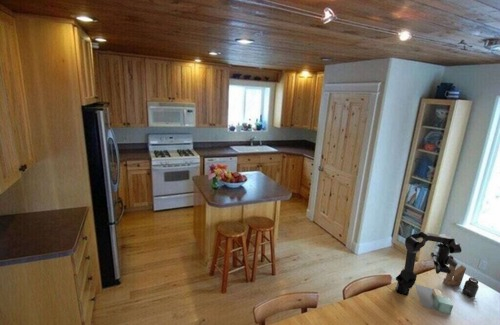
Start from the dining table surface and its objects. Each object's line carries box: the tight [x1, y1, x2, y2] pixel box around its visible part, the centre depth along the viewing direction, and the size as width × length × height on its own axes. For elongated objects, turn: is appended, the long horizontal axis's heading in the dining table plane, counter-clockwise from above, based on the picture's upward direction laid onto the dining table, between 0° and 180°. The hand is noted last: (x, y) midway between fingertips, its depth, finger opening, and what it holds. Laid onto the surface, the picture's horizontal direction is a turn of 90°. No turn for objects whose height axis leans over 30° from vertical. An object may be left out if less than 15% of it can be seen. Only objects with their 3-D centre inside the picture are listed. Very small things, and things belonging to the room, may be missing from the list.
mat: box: [413, 283, 437, 311], centre depth 169 cm, size 15×21×1 cm
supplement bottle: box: [461, 276, 480, 299], centre depth 173 cm, size 7×7×12 cm
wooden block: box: [442, 264, 467, 286], centre depth 182 cm, size 4×11×18 cm, turn 97°
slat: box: [432, 288, 444, 298], centre depth 165 cm, size 4×14×4 cm, turn 162°
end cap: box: [434, 295, 454, 315], centre depth 160 cm, size 7×6×6 cm
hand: (437, 273), depth 174 cm, fingers closed
